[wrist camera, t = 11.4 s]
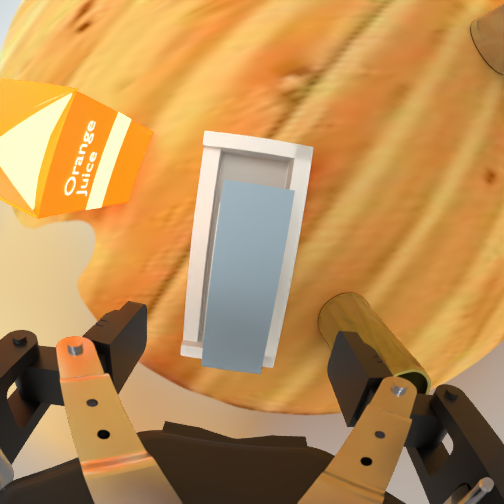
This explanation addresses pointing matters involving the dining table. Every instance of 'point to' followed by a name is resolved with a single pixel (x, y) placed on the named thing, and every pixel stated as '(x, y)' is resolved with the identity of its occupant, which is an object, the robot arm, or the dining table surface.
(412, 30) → the dining table surface
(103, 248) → the dining table surface
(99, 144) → the orange juice
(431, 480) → the robot arm
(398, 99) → the dining table surface
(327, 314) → the vase
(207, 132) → the white rectangular tray
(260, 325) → the pale blue flat slab
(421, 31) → the dining table surface
